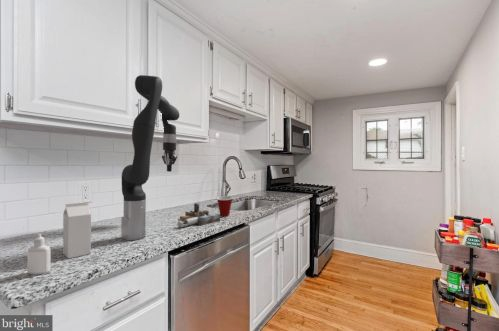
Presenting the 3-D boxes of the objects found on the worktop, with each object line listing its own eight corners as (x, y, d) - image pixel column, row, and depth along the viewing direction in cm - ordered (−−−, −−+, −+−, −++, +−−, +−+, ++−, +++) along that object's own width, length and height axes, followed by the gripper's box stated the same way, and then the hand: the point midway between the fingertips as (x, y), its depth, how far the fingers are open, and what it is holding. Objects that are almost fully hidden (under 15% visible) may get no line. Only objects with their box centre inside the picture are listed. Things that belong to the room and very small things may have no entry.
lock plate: (202, 225, 139) (202, 214, 139) (178, 219, 152) (178, 209, 152) (220, 221, 150) (220, 210, 150) (196, 215, 163) (197, 206, 163)
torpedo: (181, 228, 131) (181, 216, 130) (175, 227, 133) (175, 214, 133) (205, 222, 146) (205, 210, 145) (199, 221, 148) (200, 209, 148)
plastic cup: (212, 216, 163) (213, 197, 163) (221, 213, 173) (221, 195, 173) (227, 217, 159) (228, 198, 159) (235, 214, 169) (235, 196, 169)
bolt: (203, 218, 147) (203, 205, 147) (192, 215, 153) (193, 203, 153) (207, 217, 149) (207, 205, 149) (196, 215, 155) (197, 203, 155)
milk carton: (90, 253, 95) (91, 203, 94) (68, 259, 89) (68, 205, 89) (85, 249, 99) (85, 201, 99) (62, 254, 94) (63, 203, 94)
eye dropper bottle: (36, 277, 75) (36, 237, 75) (25, 273, 78) (25, 234, 77) (52, 271, 79) (52, 233, 79) (41, 268, 82) (42, 231, 81)
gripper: (157, 142, 151) (157, 171, 151) (170, 141, 143) (170, 172, 143) (168, 143, 157) (168, 171, 157) (181, 142, 149) (181, 171, 149)
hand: (169, 171), depth 150 cm, fingers closed
